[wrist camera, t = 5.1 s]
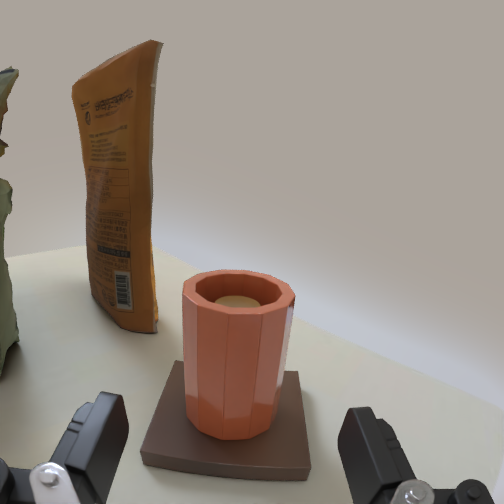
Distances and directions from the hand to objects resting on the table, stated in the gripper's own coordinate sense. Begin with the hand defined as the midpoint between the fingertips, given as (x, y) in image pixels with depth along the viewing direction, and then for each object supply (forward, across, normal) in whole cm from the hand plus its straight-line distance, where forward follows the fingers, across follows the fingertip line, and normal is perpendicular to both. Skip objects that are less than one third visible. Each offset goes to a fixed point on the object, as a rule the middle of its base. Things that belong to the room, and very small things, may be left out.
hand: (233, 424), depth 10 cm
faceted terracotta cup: (+8, 0, +7) cm, 11 cm away
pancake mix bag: (+25, +14, +9) cm, 30 cm away
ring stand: (+8, 0, +9) cm, 12 cm away
